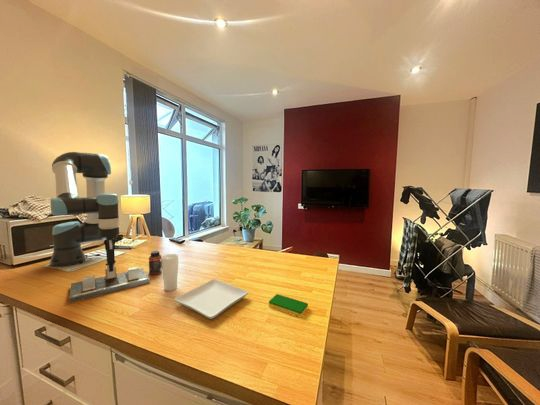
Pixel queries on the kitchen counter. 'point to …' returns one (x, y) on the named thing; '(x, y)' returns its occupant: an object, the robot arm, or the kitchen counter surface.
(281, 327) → the kitchen counter surface
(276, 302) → the dish sponge
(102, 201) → the robot arm
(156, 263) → the supplement bottle
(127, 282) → the panel
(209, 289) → the salad plate
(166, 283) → the white tumbler
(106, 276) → the toggle
